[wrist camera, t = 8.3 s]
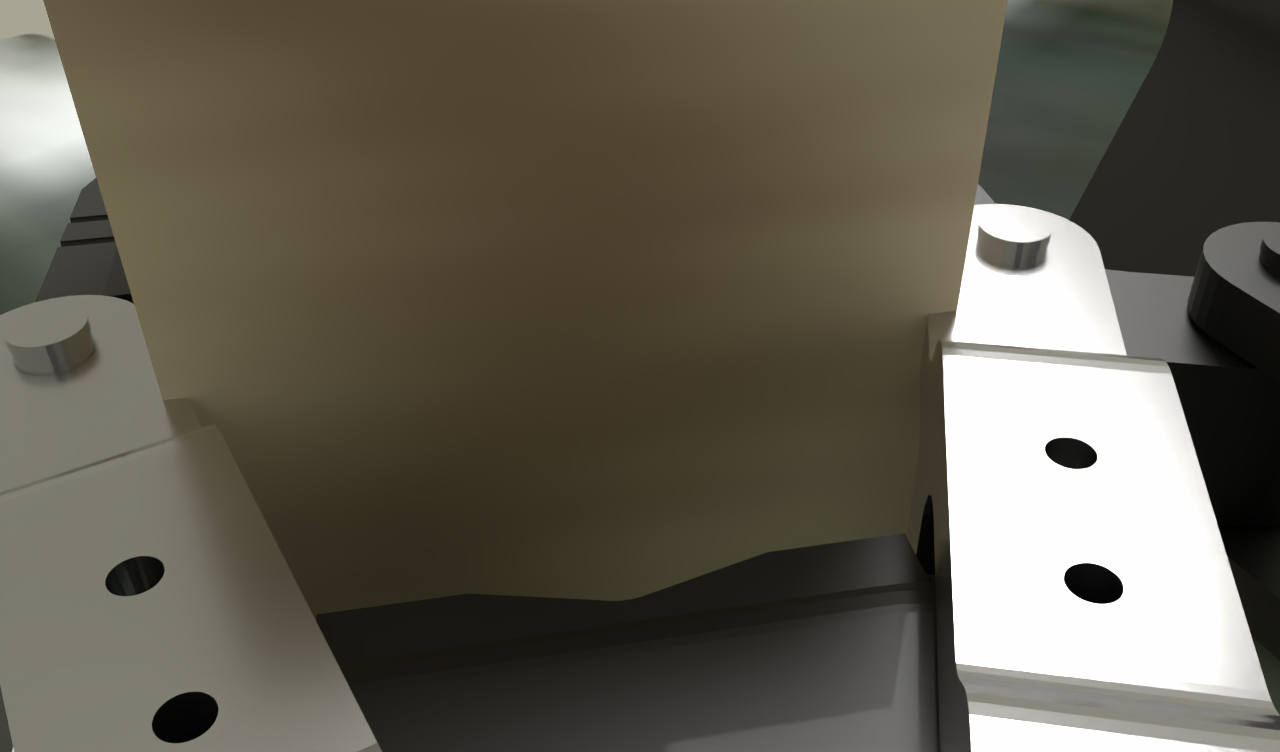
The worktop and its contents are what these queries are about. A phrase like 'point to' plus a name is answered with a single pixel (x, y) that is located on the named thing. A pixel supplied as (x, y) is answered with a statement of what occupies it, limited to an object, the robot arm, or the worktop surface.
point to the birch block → (542, 268)
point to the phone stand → (1192, 141)
